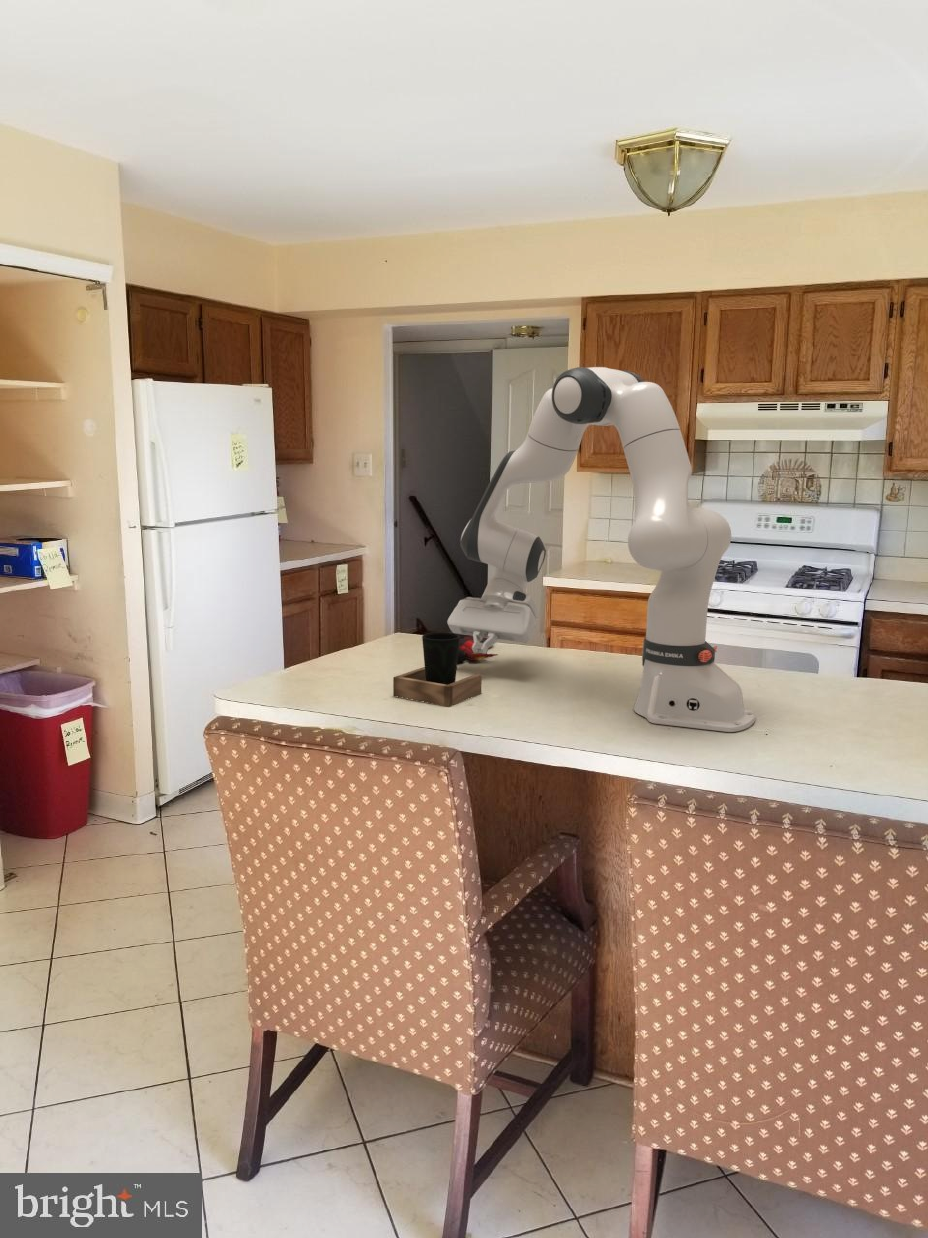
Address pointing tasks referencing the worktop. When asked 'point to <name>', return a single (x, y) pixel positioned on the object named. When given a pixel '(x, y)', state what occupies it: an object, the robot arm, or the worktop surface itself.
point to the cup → (440, 657)
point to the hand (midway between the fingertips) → (478, 651)
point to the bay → (435, 688)
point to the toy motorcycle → (470, 648)
